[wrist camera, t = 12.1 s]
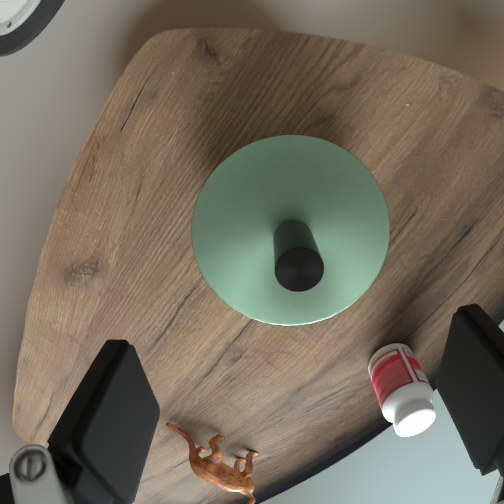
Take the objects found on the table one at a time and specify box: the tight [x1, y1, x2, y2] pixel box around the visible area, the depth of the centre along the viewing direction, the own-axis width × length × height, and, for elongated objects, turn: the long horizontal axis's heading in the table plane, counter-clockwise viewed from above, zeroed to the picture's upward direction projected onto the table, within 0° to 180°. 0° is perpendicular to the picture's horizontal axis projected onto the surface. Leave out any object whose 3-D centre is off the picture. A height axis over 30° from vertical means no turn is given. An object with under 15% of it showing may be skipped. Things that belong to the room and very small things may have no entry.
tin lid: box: [191, 135, 390, 325], centre depth 20 cm, size 14×14×6 cm
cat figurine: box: [166, 423, 258, 504], centre depth 38 cm, size 18×7×14 cm, turn 52°
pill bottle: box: [368, 343, 436, 437], centre depth 32 cm, size 6×6×11 cm
